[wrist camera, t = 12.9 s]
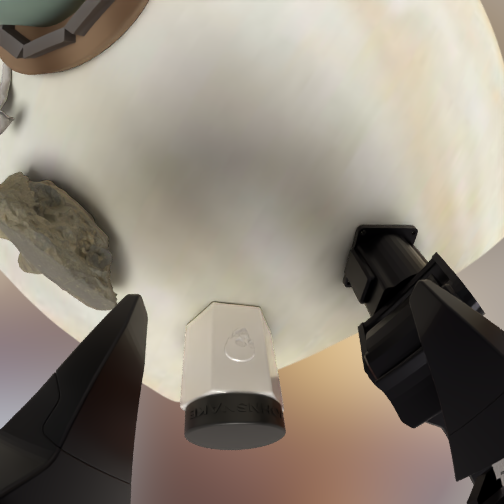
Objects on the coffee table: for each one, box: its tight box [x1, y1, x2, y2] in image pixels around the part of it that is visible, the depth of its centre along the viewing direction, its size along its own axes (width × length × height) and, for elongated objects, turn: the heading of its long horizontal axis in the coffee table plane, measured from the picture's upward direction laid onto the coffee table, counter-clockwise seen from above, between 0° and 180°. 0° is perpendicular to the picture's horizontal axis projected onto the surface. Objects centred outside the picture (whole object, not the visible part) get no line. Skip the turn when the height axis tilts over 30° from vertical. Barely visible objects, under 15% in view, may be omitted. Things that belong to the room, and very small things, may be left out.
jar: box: [180, 302, 286, 450], centre depth 24 cm, size 9×8×12 cm
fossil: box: [0, 172, 117, 310], centre depth 16 cm, size 14×10×10 cm
